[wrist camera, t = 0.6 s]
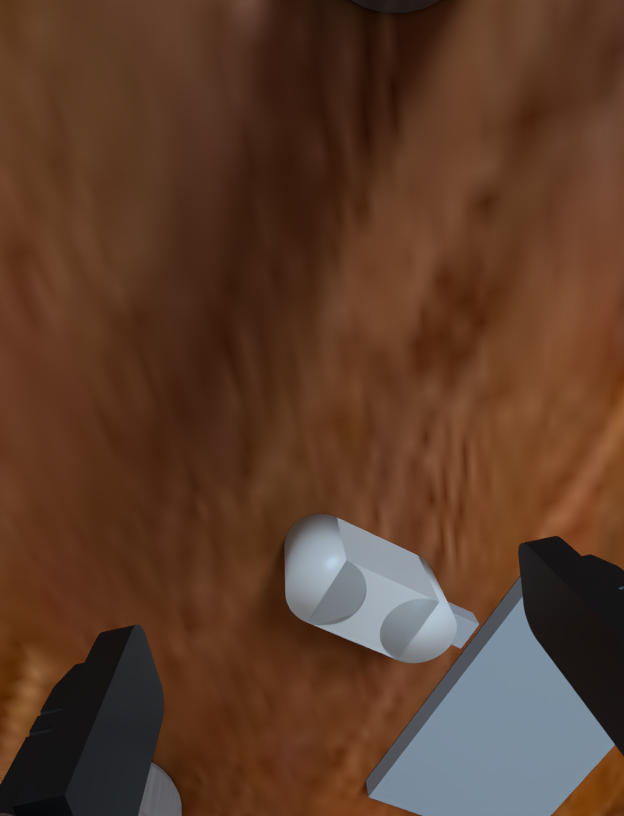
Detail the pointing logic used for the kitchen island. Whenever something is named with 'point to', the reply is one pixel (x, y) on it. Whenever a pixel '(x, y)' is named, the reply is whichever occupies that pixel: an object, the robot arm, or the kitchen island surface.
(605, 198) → the kitchen island surface
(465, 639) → the rounded plug
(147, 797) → the ramekin
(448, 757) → the cutting board
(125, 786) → the robot arm
